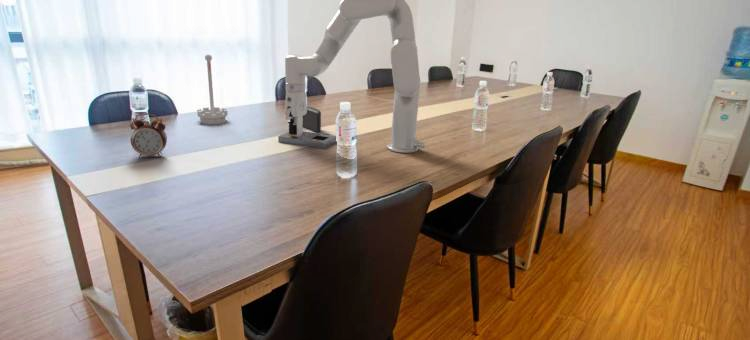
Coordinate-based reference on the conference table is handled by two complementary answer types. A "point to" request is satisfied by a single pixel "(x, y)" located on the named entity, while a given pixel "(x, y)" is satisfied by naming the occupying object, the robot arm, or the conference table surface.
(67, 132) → the conference table surface
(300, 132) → the plug
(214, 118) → the flag stand
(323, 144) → the panel
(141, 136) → the alarm clock
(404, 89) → the robot arm
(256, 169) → the conference table surface
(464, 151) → the conference table surface
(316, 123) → the leaning round-cornered charcoal block
